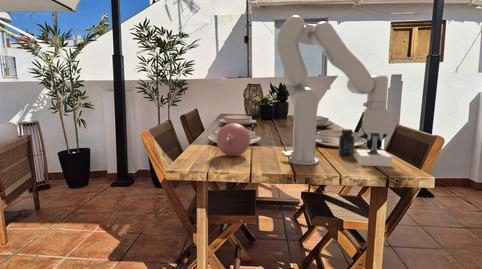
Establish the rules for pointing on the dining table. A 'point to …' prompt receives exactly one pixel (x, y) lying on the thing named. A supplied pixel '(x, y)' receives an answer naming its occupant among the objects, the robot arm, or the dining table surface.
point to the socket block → (373, 158)
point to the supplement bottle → (346, 143)
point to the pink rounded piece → (233, 139)
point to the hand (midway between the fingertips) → (373, 148)
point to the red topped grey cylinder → (374, 143)
